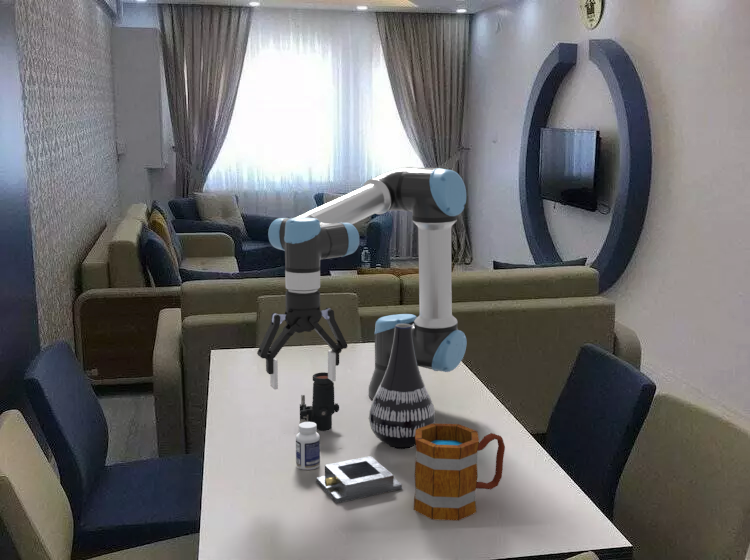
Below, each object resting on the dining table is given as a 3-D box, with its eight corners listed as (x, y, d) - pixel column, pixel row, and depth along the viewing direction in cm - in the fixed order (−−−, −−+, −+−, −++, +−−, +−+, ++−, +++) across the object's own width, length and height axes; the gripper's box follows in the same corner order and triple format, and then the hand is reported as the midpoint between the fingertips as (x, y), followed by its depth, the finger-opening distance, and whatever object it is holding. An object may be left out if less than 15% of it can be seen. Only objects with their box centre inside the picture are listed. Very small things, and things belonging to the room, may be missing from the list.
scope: (299, 371, 203) (338, 370, 204) (299, 422, 205) (338, 421, 206) (298, 381, 195) (339, 380, 196) (299, 434, 197) (339, 433, 198)
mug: (426, 525, 153) (427, 452, 150) (401, 495, 165) (402, 426, 163) (517, 511, 159) (520, 440, 156) (487, 482, 172) (489, 416, 169)
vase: (388, 462, 182) (389, 337, 176) (357, 438, 195) (357, 321, 190) (447, 449, 189) (450, 329, 183) (413, 427, 203) (415, 314, 197)
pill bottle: (323, 462, 181) (323, 422, 179) (314, 472, 176) (314, 430, 174) (302, 459, 183) (301, 419, 181) (292, 468, 178) (291, 427, 176)
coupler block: (378, 469, 178) (378, 454, 177) (401, 489, 168) (402, 473, 168) (316, 481, 171) (316, 466, 171) (336, 503, 162) (336, 487, 161)
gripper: (348, 282, 181) (348, 372, 185) (241, 290, 170) (243, 385, 174) (362, 288, 174) (361, 381, 178) (252, 297, 164) (254, 396, 168)
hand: (303, 383), depth 176 cm, fingers open, 13 cm apart
